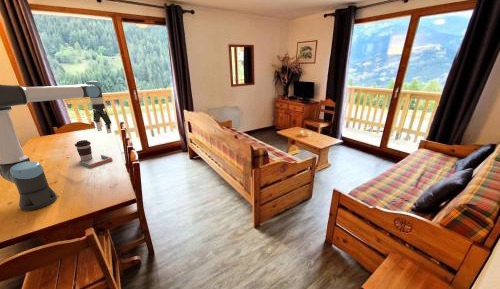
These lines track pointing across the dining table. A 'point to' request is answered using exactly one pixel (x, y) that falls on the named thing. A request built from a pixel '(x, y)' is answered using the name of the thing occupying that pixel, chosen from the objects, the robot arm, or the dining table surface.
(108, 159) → the keeper tray
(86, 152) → the coffee cup
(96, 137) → the dining table surface
